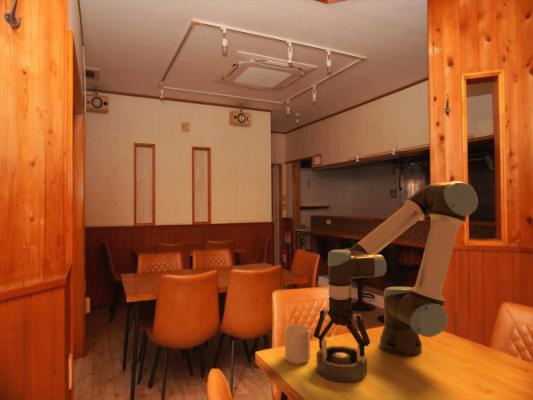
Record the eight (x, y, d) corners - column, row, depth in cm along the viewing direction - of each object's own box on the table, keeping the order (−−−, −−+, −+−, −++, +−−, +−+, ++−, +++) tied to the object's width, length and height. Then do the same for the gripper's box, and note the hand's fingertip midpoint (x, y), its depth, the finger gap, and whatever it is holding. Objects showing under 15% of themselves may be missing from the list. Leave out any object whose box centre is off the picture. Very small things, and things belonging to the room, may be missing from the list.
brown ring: (359, 360, 129) (359, 345, 129) (371, 382, 113) (371, 366, 113) (314, 360, 129) (314, 345, 129) (320, 382, 113) (320, 366, 114)
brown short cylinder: (348, 366, 124) (348, 351, 124) (352, 375, 118) (352, 358, 118) (330, 366, 124) (330, 351, 124) (333, 375, 118) (333, 359, 118)
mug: (310, 365, 125) (310, 333, 125) (284, 365, 126) (284, 333, 126) (309, 351, 137) (308, 321, 137) (285, 351, 138) (285, 321, 138)
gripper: (378, 297, 119) (380, 364, 119) (311, 290, 130) (312, 351, 130) (373, 303, 112) (375, 374, 112) (302, 295, 124) (304, 359, 124)
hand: (341, 362), depth 121 cm, fingers open, 11 cm apart
